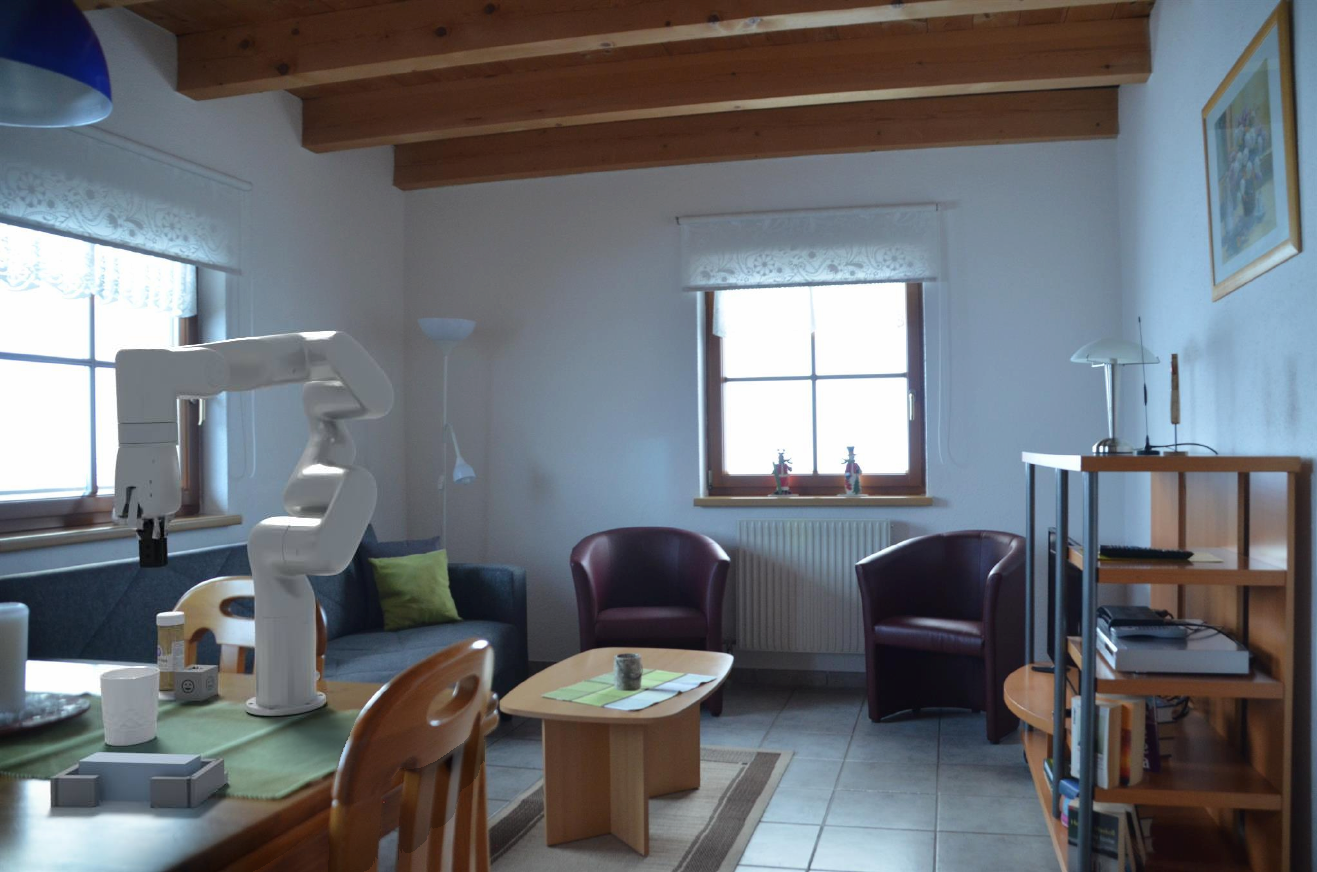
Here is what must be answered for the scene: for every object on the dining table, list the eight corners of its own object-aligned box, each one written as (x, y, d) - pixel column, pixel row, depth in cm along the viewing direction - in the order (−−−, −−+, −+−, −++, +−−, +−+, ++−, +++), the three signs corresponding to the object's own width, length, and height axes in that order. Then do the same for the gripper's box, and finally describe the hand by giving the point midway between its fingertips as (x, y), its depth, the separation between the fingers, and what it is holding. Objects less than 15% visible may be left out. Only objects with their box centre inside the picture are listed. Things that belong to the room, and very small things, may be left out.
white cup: (135, 749, 144) (134, 680, 144) (87, 746, 146) (87, 677, 146) (172, 733, 152) (171, 667, 152) (126, 730, 153) (126, 665, 153)
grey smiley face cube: (191, 693, 176) (191, 664, 176) (218, 693, 175) (217, 665, 175) (174, 700, 171) (174, 671, 171) (201, 701, 170) (201, 672, 170)
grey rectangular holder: (92, 782, 130) (92, 755, 130) (228, 783, 130) (227, 756, 130) (50, 806, 122) (50, 777, 122) (195, 807, 121) (194, 778, 121)
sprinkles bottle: (151, 689, 178) (150, 614, 178) (174, 683, 182) (173, 610, 182) (168, 692, 176) (167, 616, 176) (190, 686, 180) (190, 611, 180)
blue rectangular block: (78, 801, 124) (78, 761, 124) (97, 791, 128) (97, 752, 128) (185, 804, 123) (184, 763, 123) (201, 794, 126) (200, 754, 126)
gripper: (149, 434, 147) (154, 558, 147) (91, 438, 132) (97, 576, 132) (200, 433, 147) (205, 557, 147) (147, 437, 132) (153, 575, 132)
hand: (153, 566), depth 140 cm, fingers closed
